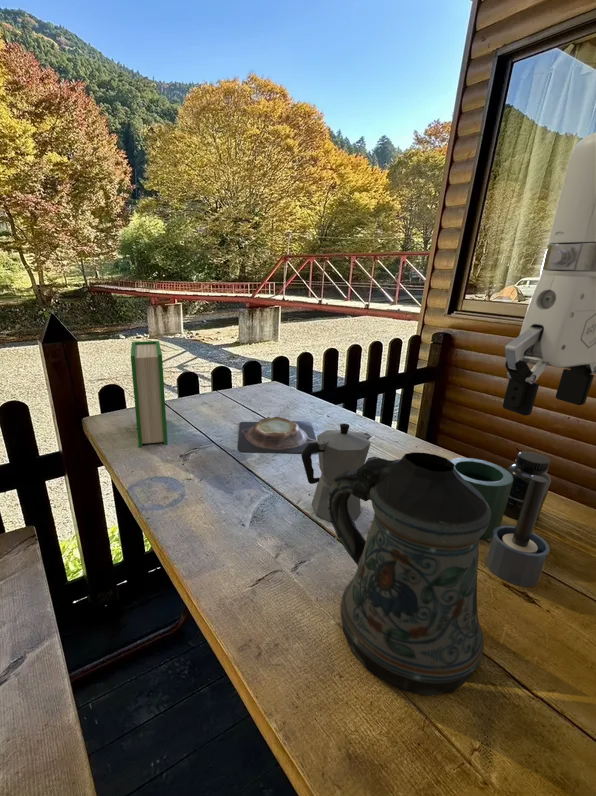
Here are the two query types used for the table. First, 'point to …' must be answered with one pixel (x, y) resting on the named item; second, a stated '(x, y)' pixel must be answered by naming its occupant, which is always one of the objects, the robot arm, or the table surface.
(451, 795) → the table surface
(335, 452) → the coffeepot
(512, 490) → the supplement bottle
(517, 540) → the brush
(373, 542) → the beer stein
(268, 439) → the quiche
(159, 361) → the hardback book
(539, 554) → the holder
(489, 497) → the jar
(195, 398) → the table surface
